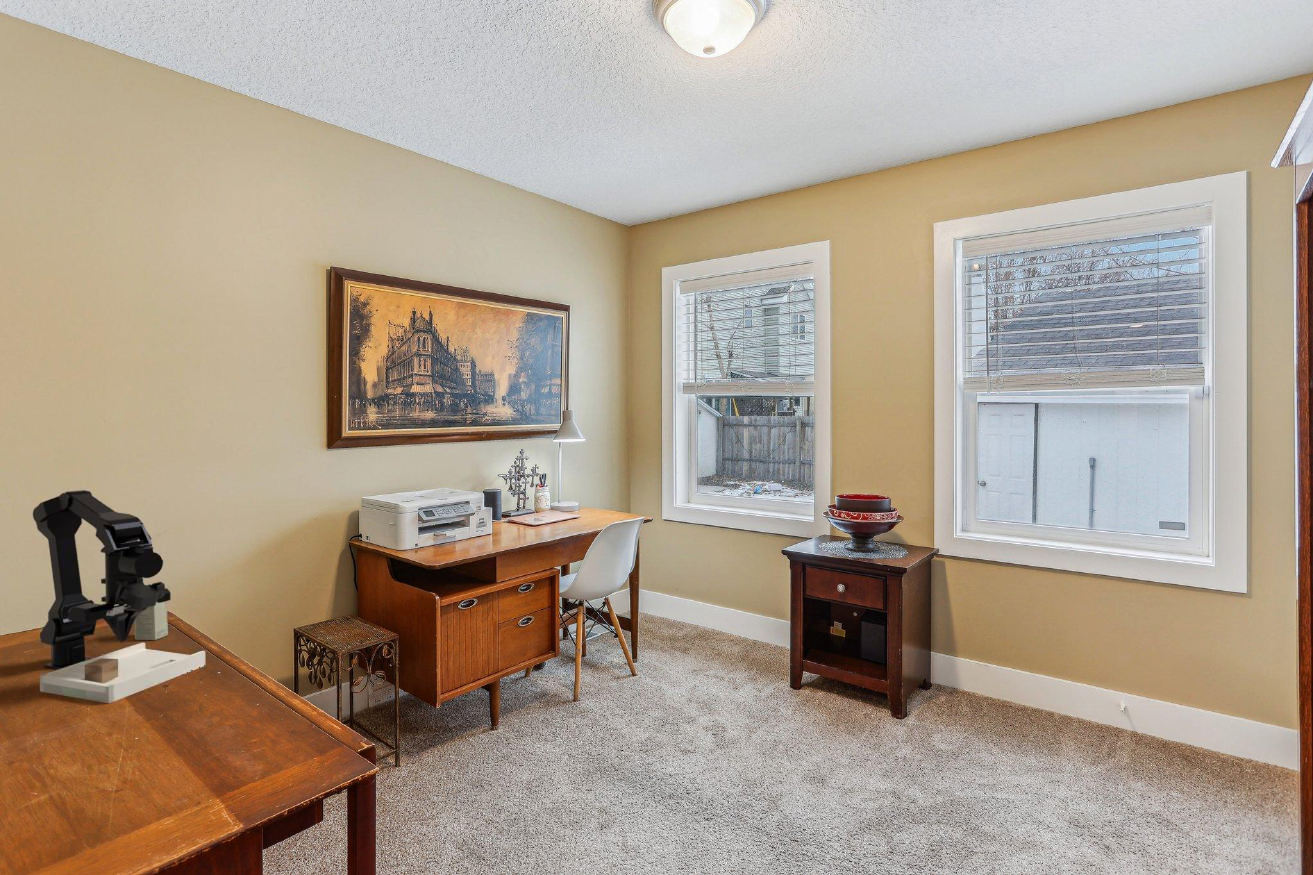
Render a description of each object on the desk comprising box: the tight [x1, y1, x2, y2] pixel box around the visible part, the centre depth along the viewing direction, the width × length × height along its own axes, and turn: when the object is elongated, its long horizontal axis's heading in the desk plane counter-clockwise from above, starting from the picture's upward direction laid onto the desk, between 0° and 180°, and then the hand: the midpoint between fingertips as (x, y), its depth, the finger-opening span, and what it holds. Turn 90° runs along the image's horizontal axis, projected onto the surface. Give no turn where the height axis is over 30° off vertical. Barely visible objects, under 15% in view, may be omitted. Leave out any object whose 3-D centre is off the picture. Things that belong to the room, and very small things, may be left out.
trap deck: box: [39, 642, 206, 704], centre depth 152 cm, size 20×22×4 cm
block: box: [85, 658, 118, 683], centre depth 146 cm, size 4×4×4 cm
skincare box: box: [133, 601, 169, 641], centre depth 179 cm, size 6×4×12 cm
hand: (122, 641), depth 151 cm, fingers closed
